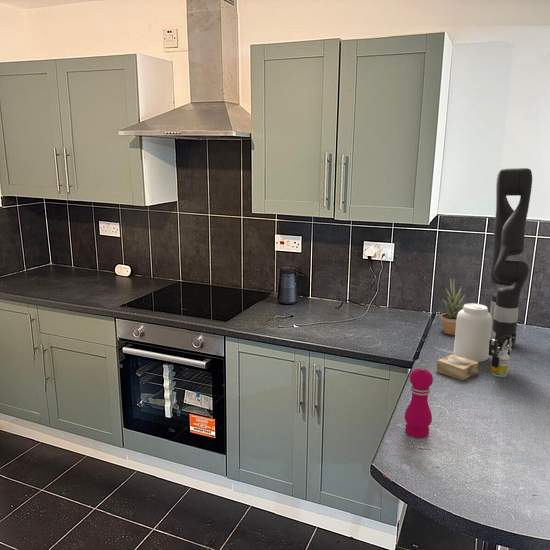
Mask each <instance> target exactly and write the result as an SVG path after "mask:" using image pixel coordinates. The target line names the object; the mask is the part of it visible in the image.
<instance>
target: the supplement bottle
mask: <svg viewBox="0 0 550 550" xmlns="http://www.w3.org/2000/svg"><path fill="white" fill-rule="evenodd" d="M498 348H500V347H498ZM497 353H498V351H497ZM507 353H508V348H507V347H504V350H503V352H501V354H500V356H499V357H500V358H499V366H498V367H497V368H496V367H493V366H492V365H490V367H491V368H490V373H491V375H492V376H495V377H499V378H505V377H508V375H509V374H508V373H509V365H510V358H509V355H508V354H507Z"/></svg>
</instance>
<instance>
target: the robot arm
mask: <svg viewBox="0 0 550 550" xmlns="http://www.w3.org/2000/svg"><path fill="white" fill-rule="evenodd" d="M495 186H496V187H495V195H496V197H495V198H496V199H495V201H496V202H495V203H496V205H495V218H494V219H495V220H494V229H493V251H492V259H491V266H490V275H489V276H490V277H489V278H490V281H491V283H492V284H494V285H500V286H502V287H499V288H498V289H497V291H495V292H493V293H492V294H491V303H490V312H489V313H490V315H491V316H492V330H491V339H490V341H489V356H491V365H492V366H493V367H496V368H497V367H498V366H499V358H500V357H499V356H500V354H501V352H503V350H504V347H507V348H508V353H507V354H508V355H509V359H511V358H510V355H511V352H512V350H514V349H515V347H516V339H517V329H518V328H517V327H518V322H519V321H518V318H519V303H520V297H521V293H522V289H523V288H524V286H525V285H524V284H525V282H526V281H527V279H528V276H529V273H530V268H529V265H528V264H527V262H525V261H521V260H509V259H508V260H507V258H509V257H512V256H517V255H522V253H524V248H525V235H526V233H525V231H526V230H525V229H526V223H527V217H528V212H529V207H530V200H531V194H532V186H533V173H532V170H531V169H530V168H527V167H524V168H523V167H520V168H519V167H518V168H516V167H515V168H514V167H513V168H501V169H500V170H498V172H497V175H496V184H495ZM507 196H509V197H510V196H515V197H516V196H518V197H519V196H520V197H519V201H518V204H517V206H516V208H515V209H514V208H513V207H512V206H511V205H510V203H509V201H508V198H507ZM503 286H505V287H503ZM498 347H500V348H498ZM497 351H498V353H497ZM491 365H490V366H491Z"/></svg>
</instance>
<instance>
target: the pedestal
mask: <svg viewBox="0 0 550 550" xmlns="http://www.w3.org/2000/svg"><path fill="white" fill-rule="evenodd" d="M436 362H437V363H436V372H438V373H441V374H444V375H447V376H449V377H452V378H455V379H456V380H460V381H465V380H466V379H468V378H470V377H473V376H475V375H477V374H479V368H480V367H479V365H480V362H477V361H474V360H471V359H468V358H465V357H462V356H459V355H456V354H454V353H452V354H449V355H447V356H445V357H443V358H439V359H437V361H436Z"/></svg>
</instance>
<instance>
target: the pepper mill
mask: <svg viewBox="0 0 550 550" xmlns="http://www.w3.org/2000/svg"><path fill="white" fill-rule="evenodd" d="M433 377H434V376H433V374H432V373H431V371H429V370H428V369H426V365H425V364H424V363H421V364H419V365H418V368H415V369H413V370H412V371H411V373H409V382H410V384H411V385H410V387H411V388H410V391H411V400H410V402H409V405H408V406H407V407H406V410H405V413H404V420H405V422H406V423H405V429H404V430H405V433H406V434H407V435H408V436H409V437H413V438H414V439H415V438H416V439H424V438H426V437H428V436H429V434H430V425H432V422H433V416H432V411H431V408H430V406H429V402H428V400H429V399H428V396H429V394H430V393H431V391H430V390H431V386H432V384H433V382H434V378H433Z"/></svg>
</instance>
